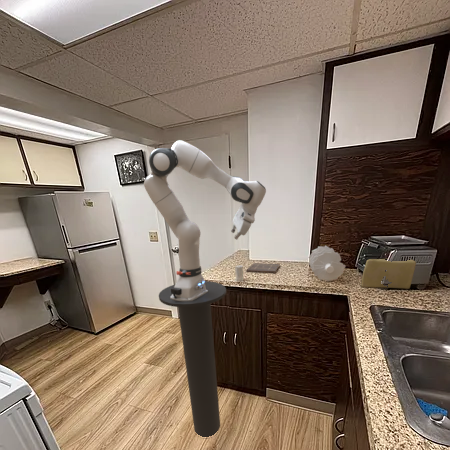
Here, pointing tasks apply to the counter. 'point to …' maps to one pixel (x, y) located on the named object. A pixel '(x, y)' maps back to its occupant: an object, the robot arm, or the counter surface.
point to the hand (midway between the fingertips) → (233, 235)
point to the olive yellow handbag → (388, 273)
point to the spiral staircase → (326, 263)
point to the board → (263, 268)
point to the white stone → (239, 273)
